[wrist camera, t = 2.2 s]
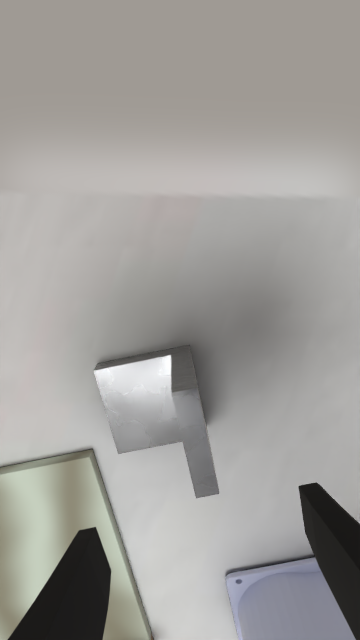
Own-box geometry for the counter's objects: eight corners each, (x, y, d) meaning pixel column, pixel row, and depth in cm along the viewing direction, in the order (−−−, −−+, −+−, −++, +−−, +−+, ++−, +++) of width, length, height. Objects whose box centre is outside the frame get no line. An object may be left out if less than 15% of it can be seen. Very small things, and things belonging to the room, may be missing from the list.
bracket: (189, 344, 21) (197, 387, 15) (206, 425, 22) (219, 493, 16) (97, 363, 21) (69, 413, 15) (120, 442, 22) (103, 516, 16)
